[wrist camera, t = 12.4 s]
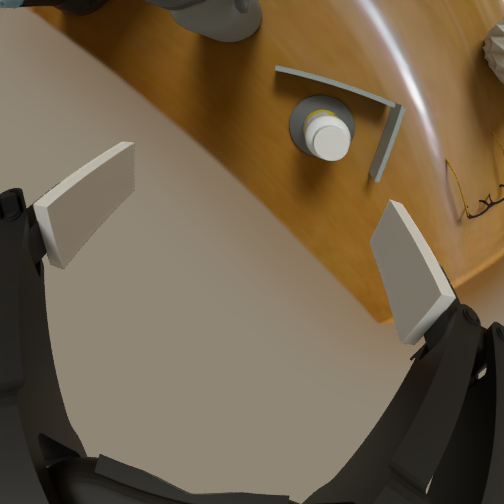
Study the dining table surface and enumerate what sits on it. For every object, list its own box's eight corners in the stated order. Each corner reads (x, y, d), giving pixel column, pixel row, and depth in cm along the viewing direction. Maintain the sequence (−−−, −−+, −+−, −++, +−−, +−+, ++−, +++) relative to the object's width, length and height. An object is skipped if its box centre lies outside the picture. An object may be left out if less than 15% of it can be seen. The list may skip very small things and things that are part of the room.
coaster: (282, 147, 45) (282, 148, 45) (297, 87, 38) (297, 87, 38) (343, 164, 45) (343, 164, 45) (361, 107, 39) (362, 107, 38)
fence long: (275, 70, 37) (274, 70, 34) (276, 65, 36) (276, 65, 33) (386, 104, 37) (394, 107, 34) (387, 100, 37) (395, 103, 34)
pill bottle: (340, 145, 43) (354, 169, 34) (302, 144, 44) (306, 167, 35) (341, 109, 39) (357, 122, 30) (301, 107, 40) (306, 119, 31)
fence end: (368, 172, 45) (374, 181, 42) (393, 102, 37) (401, 105, 34) (372, 173, 46) (378, 182, 42) (397, 103, 37) (405, 107, 34)
